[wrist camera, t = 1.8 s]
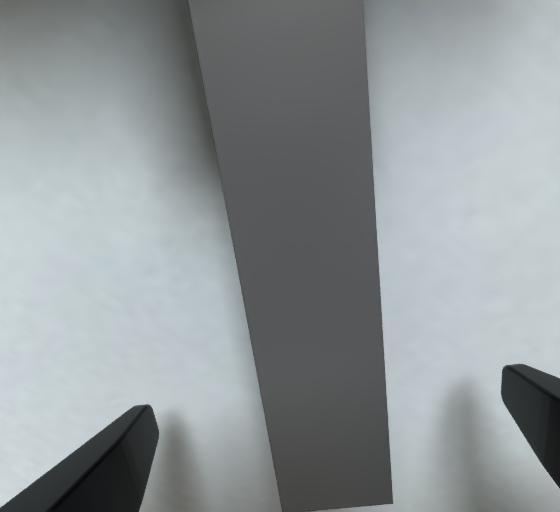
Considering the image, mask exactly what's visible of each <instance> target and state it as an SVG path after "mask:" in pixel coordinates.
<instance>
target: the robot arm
mask: <svg viewBox="0 0 560 512" xmlns="http://www.w3.org/2000/svg"><path fill="white" fill-rule="evenodd" d="M501 396H502V400H503V402H504V404H505V406H506V407H507V409H508V411H509V412H510V414H511V415H512V417H513V419H514V420H515V422H516V424H517V425H518V427H519V428H520V430H521V432H522V433H523V435H524V436H525V438H526V440H527V441H528V443H529V444H530V446H531V448H532V449H533V451H534V453H535V454H536V456H537V457H538V459H539V460H540V462H541V463H542V465H543V466H544V468H545V469H546V470H547V472H548V473H549V475H550V476H551V477H552V479H553V480H554V481H555V483H556V484H557V485H558V487H559V488H560V378H557V377H555V376H552V375H550V374H547V373H545V372H542V371H540V370H537V369H535V368H532V367H529V366H527V365H524V364H513V365H506V366H504V367H503V370H502V384H501ZM158 439H159V429H158V425H157V422H156V419H155V415H154V412H153V409H152V407H151V406H150V405H148V404H146V405H137V406H134V407H132V408H131V409H129V410H128V411H127V412H125V413H124V414H123V415H121V416H120V417H119V418H117V419H116V420H115V421H114V422H112V423H111V424H110V425H108V426H107V427H106V428H104V429H103V430H102V431H100V432H99V433H98V434H96V435H95V436H94V437H93V438H91V439H90V440H89V441H87V442H86V443H85V444H83V445H82V446H81V447H79V448H78V449H77V450H75V451H74V452H73V453H72V454H70V455H69V456H68V457H66V458H65V459H64V460H62V461H61V462H60V463H58V464H57V465H56V466H54V467H53V468H52V469H51V470H49V471H48V472H47V473H45V474H44V475H43V476H41V477H40V478H39V479H37V480H36V481H35V482H33V483H32V484H31V485H30V486H28V487H27V488H26V489H24V490H23V491H22V492H20V493H19V494H18V495H16V496H15V497H14V498H12V499H11V500H10V501H9V502H7V503H6V504H5V505H3V506H2V507H1V508H0V512H139V509H140V506H141V503H142V500H143V496H144V493H145V489H146V485H147V482H148V478H149V474H150V470H151V466H152V462H153V458H154V455H155V451H156V447H157V443H158Z"/></svg>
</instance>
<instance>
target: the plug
mask: <svg viewBox="0 0 560 512" xmlns="http://www.w3.org/2000/svg"><path fill="white" fill-rule="evenodd" d="M188 3H189V8H190V14H191V19H192V25H193V30H194V36H195V41H196V46H197V52H198V57H199V63H200V68H201V73H202V79H203V84H204V90H205V95H206V100H207V106H208V111H209V117H210V122H211V128H212V133H213V138H214V144H215V149H216V155H217V160H218V165H219V171H220V176H221V182H222V187H223V192H224V198H225V203H226V209H227V214H228V220H229V225H230V230H231V236H232V241H233V247H234V252H235V257H236V263H237V268H238V274H239V279H240V284H241V290H242V295H243V301H244V306H245V312H246V317H247V322H248V328H249V333H250V339H251V344H252V349H253V355H254V360H255V366H256V371H257V376H258V382H259V387H260V393H261V398H262V404H263V409H264V414H265V420H266V425H267V431H268V436H269V441H270V447H271V452H272V458H273V463H274V468H275V474H276V479H277V485H278V490H279V496H280V501H281V506H282V512H306V511H317V510H328V509H339V508H350V507H361V506H372V505H383V504H393V496H392V480H391V463H390V446H389V430H388V413H387V396H386V380H385V363H384V346H383V330H382V313H381V296H380V280H379V263H378V246H377V230H376V213H375V196H374V180H373V163H372V146H371V130H370V113H369V96H368V80H367V63H366V46H365V30H364V13H363V0H188Z"/></svg>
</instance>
